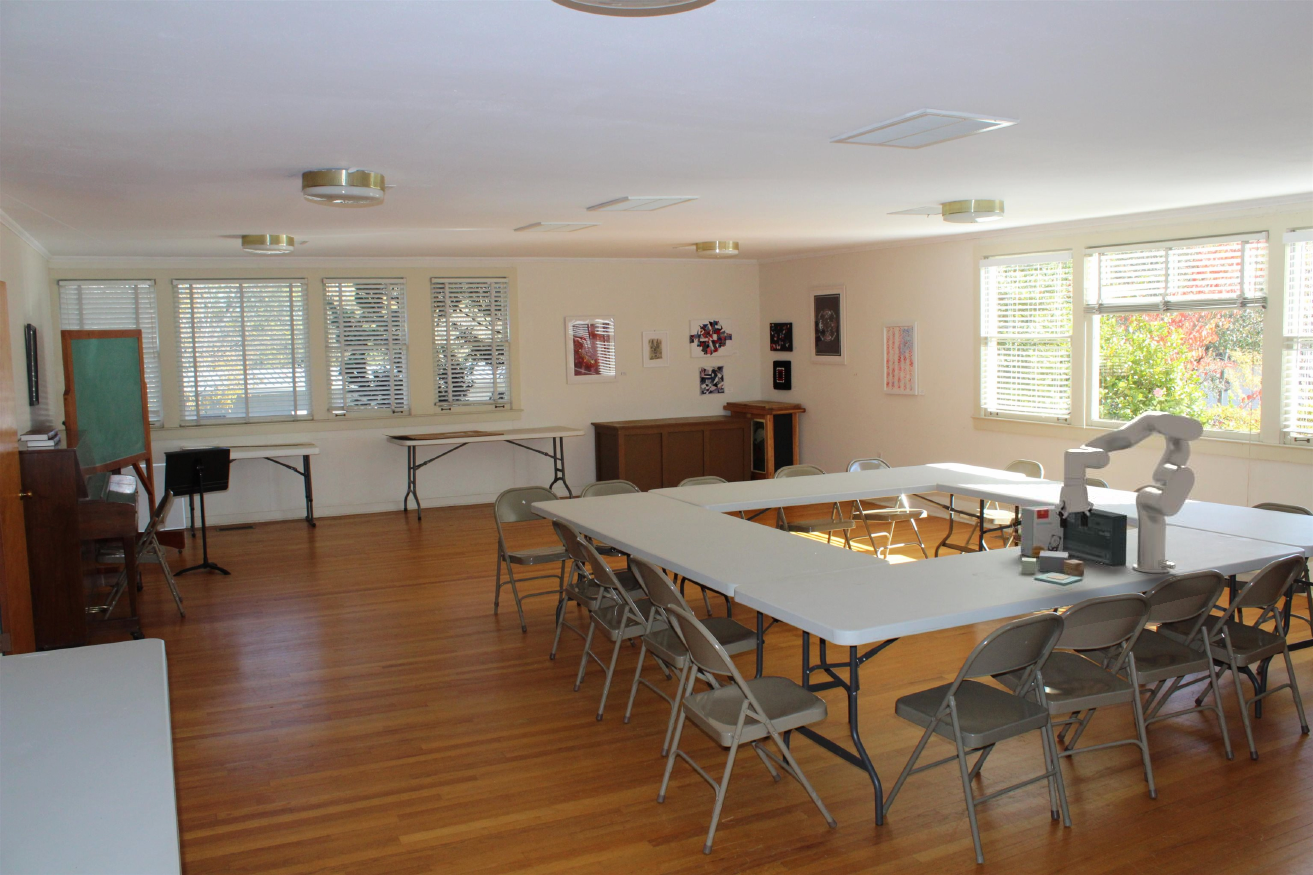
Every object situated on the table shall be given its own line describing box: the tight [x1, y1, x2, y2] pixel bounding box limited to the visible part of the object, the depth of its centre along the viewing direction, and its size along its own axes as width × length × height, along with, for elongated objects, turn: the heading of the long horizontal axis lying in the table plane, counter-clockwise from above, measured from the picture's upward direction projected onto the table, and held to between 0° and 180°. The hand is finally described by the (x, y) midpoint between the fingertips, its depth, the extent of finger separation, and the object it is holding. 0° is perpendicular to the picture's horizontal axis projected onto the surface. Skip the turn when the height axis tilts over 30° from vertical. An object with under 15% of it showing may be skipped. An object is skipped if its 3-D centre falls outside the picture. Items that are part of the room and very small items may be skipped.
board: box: [1033, 571, 1083, 586], centre depth 344 cm, size 12×12×1 cm
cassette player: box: [1063, 507, 1128, 567], centre depth 376 cm, size 29×7×20 cm, turn 18°
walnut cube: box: [1062, 559, 1085, 577], centre depth 352 cm, size 5×5×5 cm
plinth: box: [1038, 551, 1069, 573], centre depth 361 cm, size 10×10×6 cm
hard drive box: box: [1020, 505, 1063, 558], centre depth 385 cm, size 16×8×20 cm, turn 105°
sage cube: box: [1021, 557, 1037, 575], centre depth 357 cm, size 5×5×5 cm
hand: (1073, 526), depth 350 cm, fingers open, 9 cm apart
